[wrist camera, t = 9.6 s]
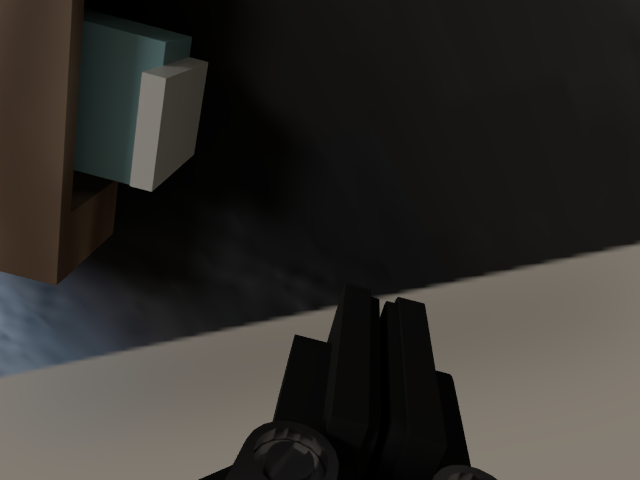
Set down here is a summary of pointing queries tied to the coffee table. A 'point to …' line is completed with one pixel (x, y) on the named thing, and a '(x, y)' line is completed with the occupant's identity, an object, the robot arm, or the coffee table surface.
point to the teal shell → (136, 101)
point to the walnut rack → (45, 145)
